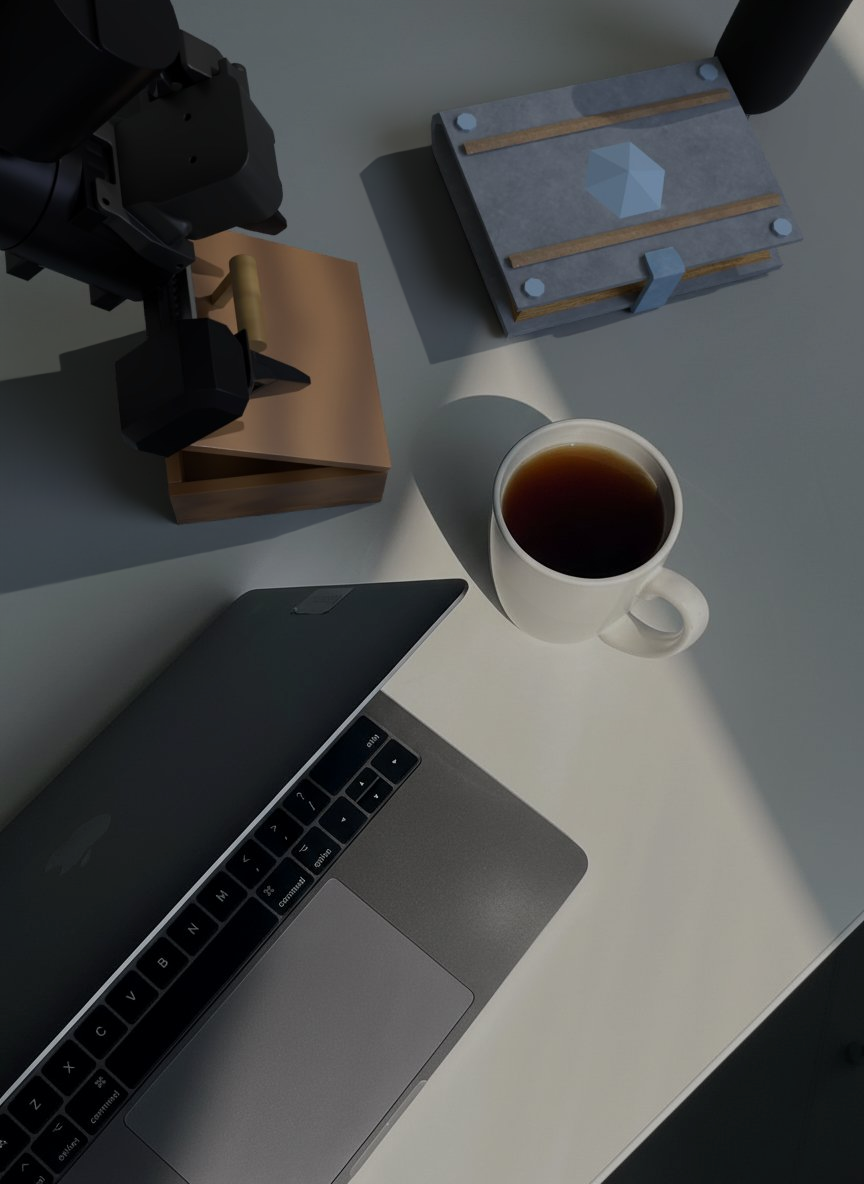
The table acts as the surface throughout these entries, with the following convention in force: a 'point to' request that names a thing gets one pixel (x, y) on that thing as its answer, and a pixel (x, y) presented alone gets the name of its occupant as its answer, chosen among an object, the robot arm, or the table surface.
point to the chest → (261, 486)
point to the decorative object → (774, 47)
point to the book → (612, 194)
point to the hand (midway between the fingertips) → (293, 305)
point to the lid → (295, 352)
